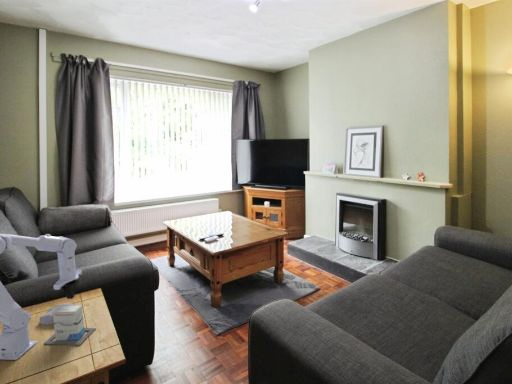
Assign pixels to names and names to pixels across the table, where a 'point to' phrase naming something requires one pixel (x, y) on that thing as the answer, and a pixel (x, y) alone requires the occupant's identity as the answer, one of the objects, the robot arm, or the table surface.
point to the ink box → (68, 322)
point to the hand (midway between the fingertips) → (70, 297)
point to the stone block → (51, 314)
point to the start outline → (50, 342)
